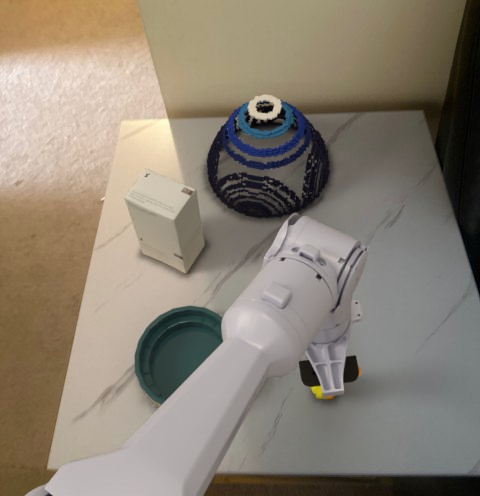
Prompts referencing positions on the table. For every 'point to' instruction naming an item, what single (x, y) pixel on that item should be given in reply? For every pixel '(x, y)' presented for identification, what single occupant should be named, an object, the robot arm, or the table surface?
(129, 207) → the cosmetic box
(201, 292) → the table surface
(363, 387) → the table surface
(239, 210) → the decorative bowl
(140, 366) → the glazed bowl
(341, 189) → the table surface
